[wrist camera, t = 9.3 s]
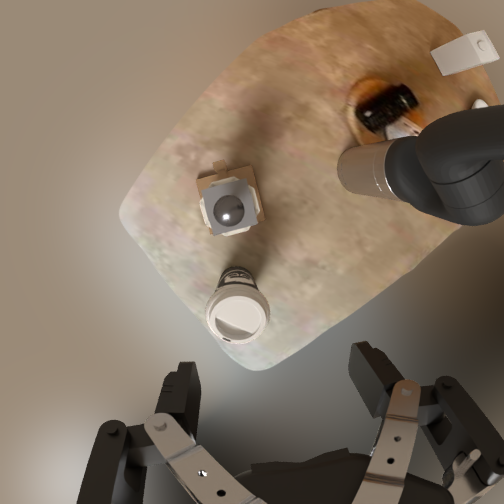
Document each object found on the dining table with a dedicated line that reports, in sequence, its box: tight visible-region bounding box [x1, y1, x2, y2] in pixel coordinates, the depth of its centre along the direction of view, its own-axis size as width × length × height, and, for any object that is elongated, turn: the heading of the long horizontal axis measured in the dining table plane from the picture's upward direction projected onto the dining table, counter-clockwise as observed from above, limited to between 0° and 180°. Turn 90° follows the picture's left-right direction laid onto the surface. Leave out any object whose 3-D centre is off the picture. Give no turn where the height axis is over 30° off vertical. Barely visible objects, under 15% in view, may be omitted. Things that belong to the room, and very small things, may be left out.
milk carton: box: [430, 30, 500, 76], centre depth 32 cm, size 7×7×19 cm
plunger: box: [213, 195, 245, 227], centre depth 36 cm, size 5×5×14 cm
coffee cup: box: [205, 267, 270, 344], centre depth 45 cm, size 10×10×15 cm
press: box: [196, 160, 265, 236], centre depth 41 cm, size 10×11×15 cm
